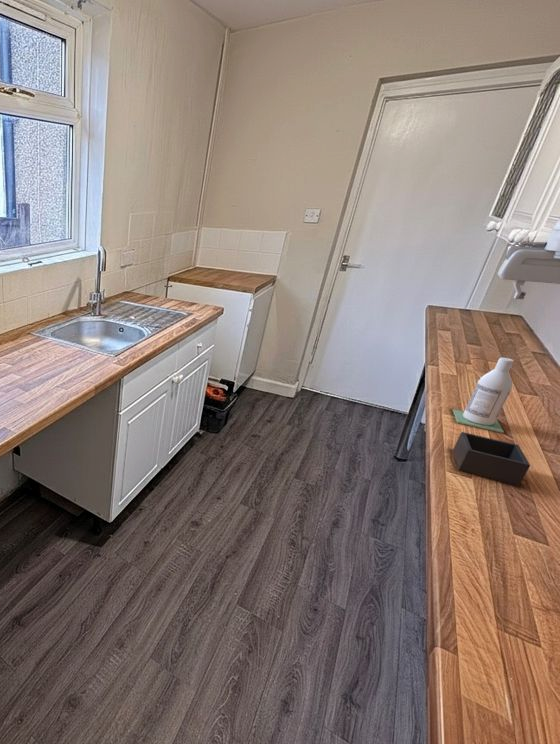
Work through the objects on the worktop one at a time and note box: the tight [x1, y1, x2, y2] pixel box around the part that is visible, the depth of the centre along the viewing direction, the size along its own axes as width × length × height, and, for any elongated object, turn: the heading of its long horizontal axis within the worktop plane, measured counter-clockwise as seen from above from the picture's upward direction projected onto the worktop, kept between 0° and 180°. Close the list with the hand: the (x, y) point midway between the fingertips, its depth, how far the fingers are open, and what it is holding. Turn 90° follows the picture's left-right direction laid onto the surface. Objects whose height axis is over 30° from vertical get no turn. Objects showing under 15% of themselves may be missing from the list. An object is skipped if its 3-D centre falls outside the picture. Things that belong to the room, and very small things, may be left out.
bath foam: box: [463, 357, 515, 425], centre depth 121 cm, size 7×7×20 cm
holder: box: [452, 431, 531, 487], centre depth 103 cm, size 11×11×6 cm
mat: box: [452, 408, 505, 434], centre depth 125 cm, size 10×10×1 cm
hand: (545, 301), depth 102 cm, fingers open, 8 cm apart
